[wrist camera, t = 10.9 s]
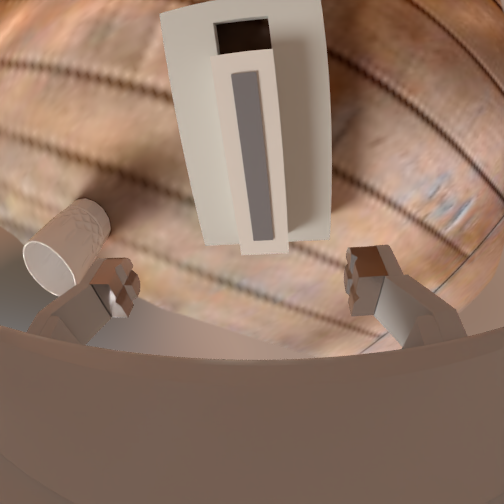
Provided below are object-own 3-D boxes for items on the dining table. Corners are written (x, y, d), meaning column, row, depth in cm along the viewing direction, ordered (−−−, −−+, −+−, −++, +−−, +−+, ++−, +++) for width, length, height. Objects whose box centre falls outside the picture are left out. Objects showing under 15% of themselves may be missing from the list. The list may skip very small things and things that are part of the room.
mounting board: (176, 20, 18) (159, 13, 14) (312, 3, 16) (319, -8, 13) (213, 223, 31) (205, 245, 28) (323, 217, 29) (329, 239, 26)
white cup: (103, 189, 29) (55, 238, 21) (123, 244, 34) (87, 300, 26) (59, 197, 30) (13, 242, 22) (79, 246, 35) (43, 295, 27)
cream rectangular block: (224, 58, 19) (209, 56, 14) (272, 53, 19) (272, 48, 14) (247, 220, 29) (241, 256, 24) (286, 217, 28) (288, 254, 24)
